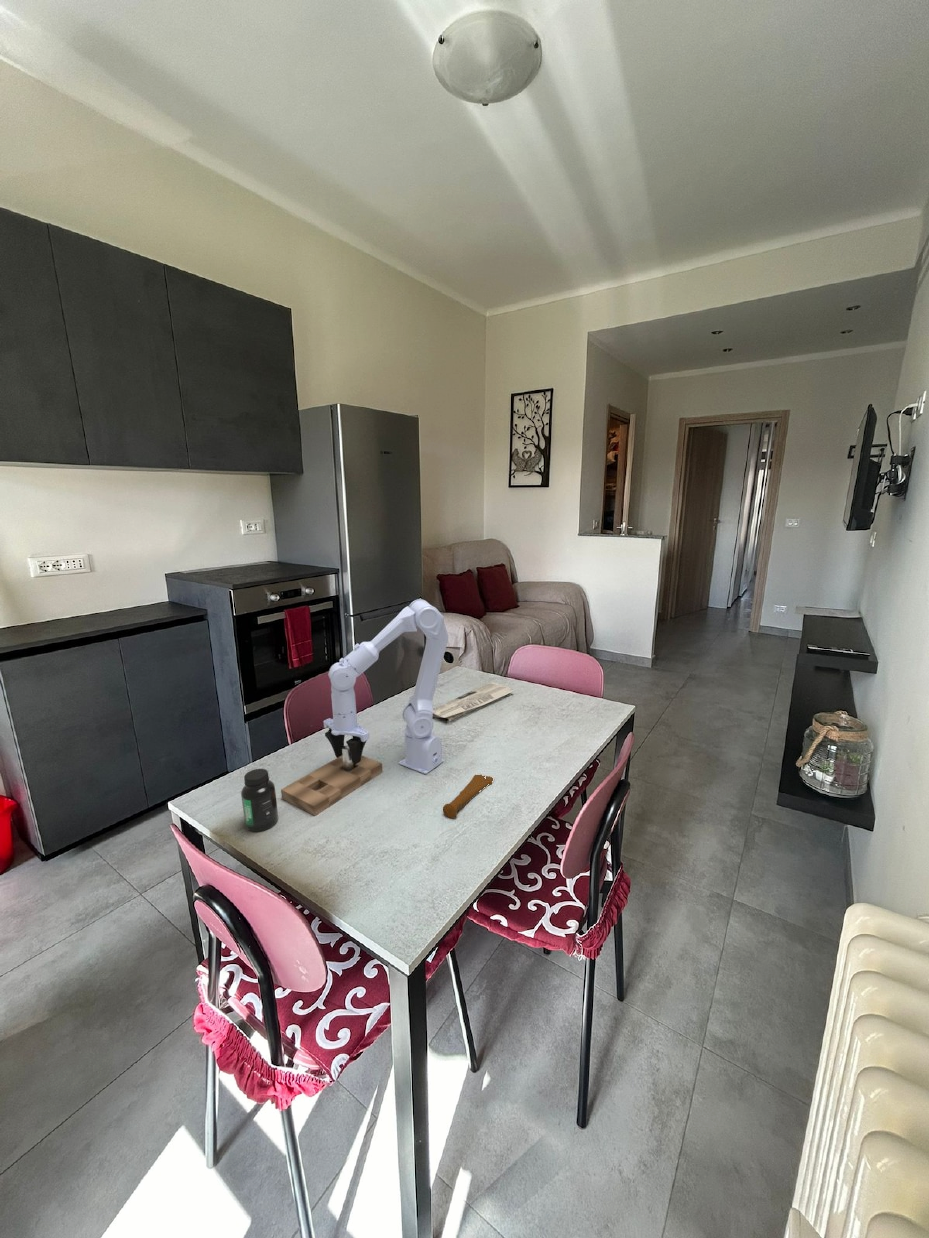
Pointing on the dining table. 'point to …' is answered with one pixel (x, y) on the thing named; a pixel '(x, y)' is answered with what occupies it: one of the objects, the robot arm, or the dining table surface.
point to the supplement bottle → (259, 801)
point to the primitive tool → (466, 795)
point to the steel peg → (347, 759)
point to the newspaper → (470, 701)
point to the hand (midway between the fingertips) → (348, 759)
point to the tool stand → (329, 784)
